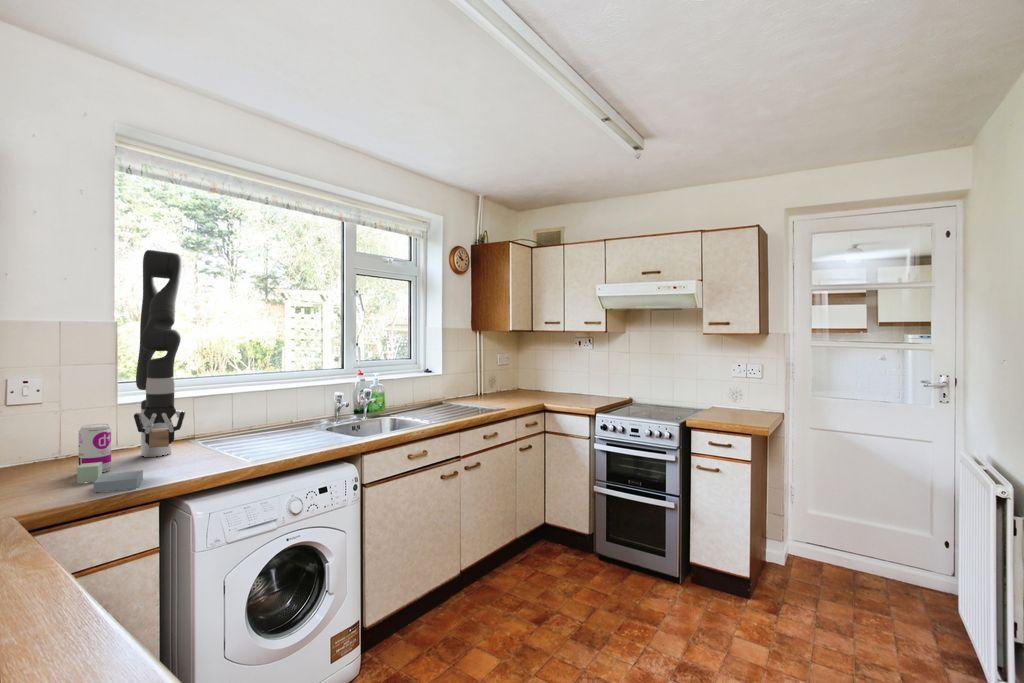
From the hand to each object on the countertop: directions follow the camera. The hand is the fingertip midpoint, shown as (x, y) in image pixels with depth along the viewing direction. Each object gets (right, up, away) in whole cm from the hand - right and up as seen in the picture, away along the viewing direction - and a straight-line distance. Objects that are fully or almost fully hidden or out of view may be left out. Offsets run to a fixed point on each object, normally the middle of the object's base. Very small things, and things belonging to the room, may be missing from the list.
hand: (159, 443), depth 165 cm
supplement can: (-22, -9, +1) cm, 24 cm away
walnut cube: (0, -1, 0) cm, 1 cm away
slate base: (-3, -10, -13) cm, 17 cm away
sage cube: (-16, -10, -8) cm, 20 cm away
